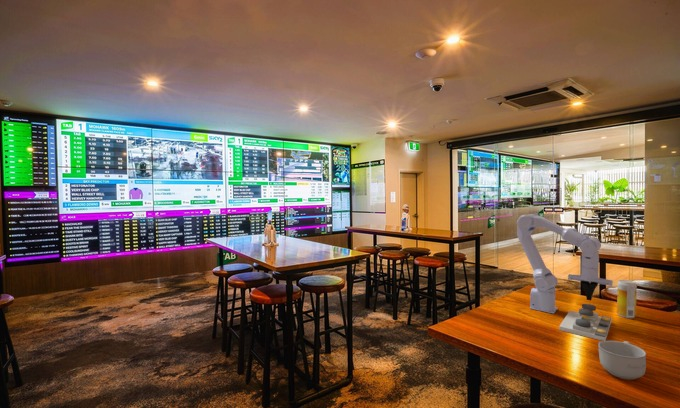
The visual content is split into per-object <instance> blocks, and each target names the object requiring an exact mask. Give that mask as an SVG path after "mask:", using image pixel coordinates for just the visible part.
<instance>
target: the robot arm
mask: <svg viewBox="0 0 680 408" xmlns="http://www.w3.org/2000/svg"><path fill="white" fill-rule="evenodd" d="M516 226H517V229H516V236H517V238H518V240H519V243H520V245H521V248H522V249H523V251H524V253H525V256H526V258H527V260H528V262H529V264H530V266H531V268H532V270H533V274H532V277H533V280H534V286H535V287H532V288H531V290H530V295H529V296H530V297H529V298H530V299H529V300H530V301H529V303H530V304H529V306H530V307H529V309H532V310H536V311H539V312H545V313H549V314H555V313H556V312H557V311H558V307H556V287H557V285H558V283H559V282H558V278H557V277H556V276H555V275H554V274H553V273H552V271H551V270H550V269H549V268H548V267H547V266H546V264H545V261H544V259H543V258H542V256H541V254H540V251H539V249H538V248H537V245H536V243H535V242H534V239H533V237H532V233H533V232H534V231H535V229H536V228H543V229H546V230H547V231H551V232H553V233H555V234H558V236H559V235H560V237H561V238H562V240H563V241H565V242H567V243H569V244H572V245H573V246H576V247H577V248H579V249H580V251H581V263H580V265H581V266H580V268H581V270H580V273H581V274H570V273H569V274H567V279H568V280H569V281H577V282H580V285H581V287H582V289H583V291H584V294H585V297H586V298H585V299H586V300H587V301H592V298H593V294H594V292H595V290H596V289H597V287H598V285H605V286H609V287H613V284H614V283H613V282H614V281H613V280H612V279H606V278H601V277H600V276H599V267H600V266H599V265H600V264H599V263H600V257H599V255H600V254H599V253H600V252H599V251H600V249H601V247H602V244H601V243H602V242H601V241H600V240H599V239H597V238H596V237H593V236H591V237H590V235H589V234H584V233H582V232H581V231H580V232H579V231H578V229H577V228H575V227H574V228H571V227H569V228H564V227H562V226H560V225H559V224H557V223H556V222H553V221H551V220H549V219H547V218H546V217H543V216H541V215H538V214H536V213H530V214H522V215H520V216H519V217H518V218H517V221H516Z"/></svg>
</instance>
